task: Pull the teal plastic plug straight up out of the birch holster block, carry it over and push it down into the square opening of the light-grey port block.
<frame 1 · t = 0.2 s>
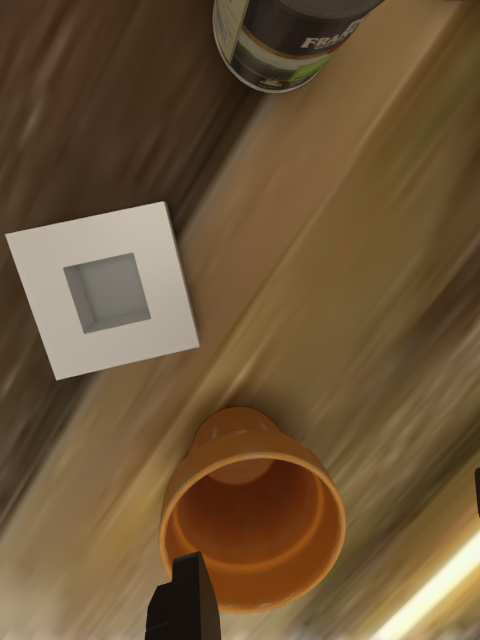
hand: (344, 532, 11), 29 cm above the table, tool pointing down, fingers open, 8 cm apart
port: (118, 283, 37), on the table
coffee can: (273, 25, 34), on the table
flower pot: (235, 443, 43), on the table
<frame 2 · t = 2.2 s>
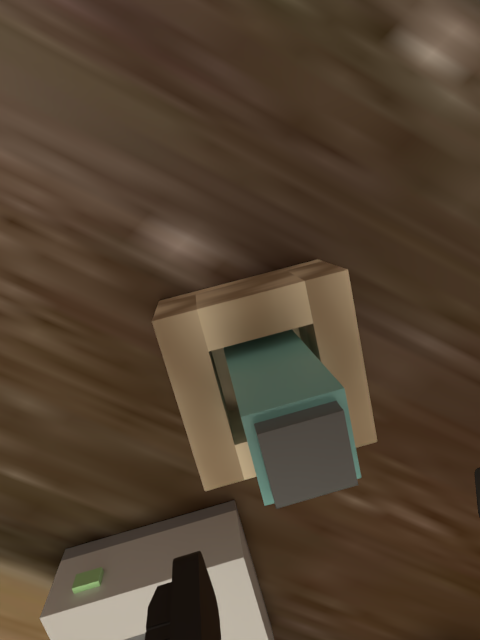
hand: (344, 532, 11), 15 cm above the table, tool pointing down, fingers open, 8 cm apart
plug: (260, 360, 25), point 1 cm above the table, touching holster
port: (174, 590, 30), on the table
holster: (257, 354, 26), on the table
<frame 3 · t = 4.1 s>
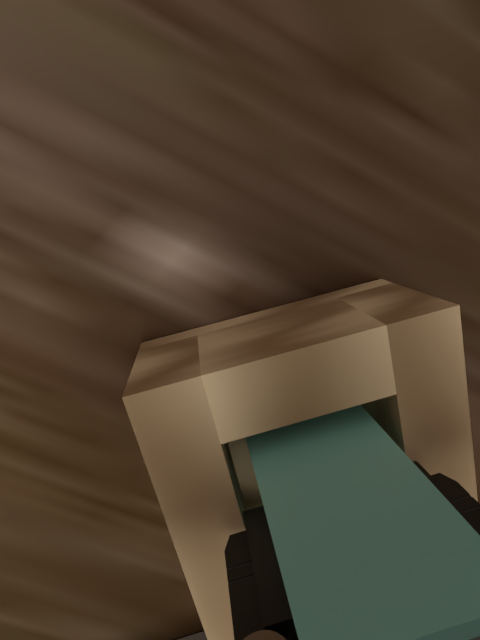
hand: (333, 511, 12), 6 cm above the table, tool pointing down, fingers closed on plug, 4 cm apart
plug: (294, 430, 17), point 1 cm above the table, touching gripper, holster
holster: (288, 418, 18), on the table
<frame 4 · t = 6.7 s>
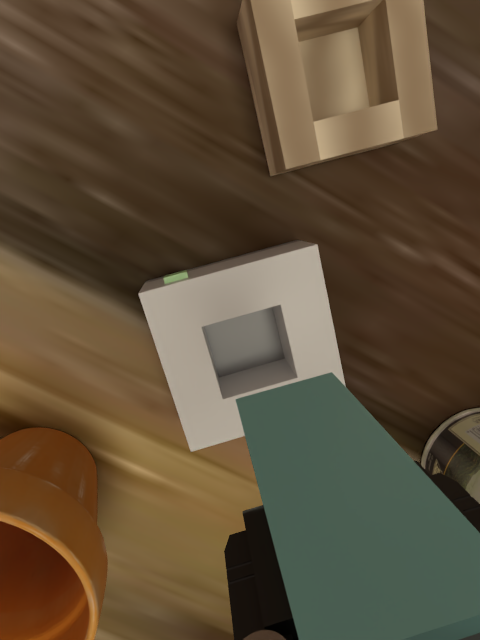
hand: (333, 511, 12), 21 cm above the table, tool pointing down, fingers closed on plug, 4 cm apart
plug: (293, 428, 17), point 17 cm above the table, touching gripper
port: (241, 332, 33), on the table
coffee can: (470, 454, 39), on the table
flower pot: (42, 471, 34), on the table
holster: (321, 86, 29), on the table
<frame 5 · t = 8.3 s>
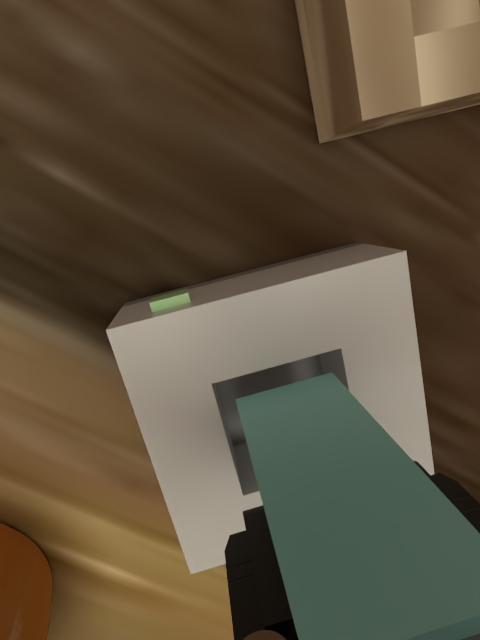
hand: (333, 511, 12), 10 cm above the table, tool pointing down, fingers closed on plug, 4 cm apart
plug: (293, 429, 17), point 6 cm above the table, touching gripper
port: (268, 378, 22), on the table
holster: (405, 0, 18), on the table
when the fingers open (7 cm above the table, at t = 9.6 s): plug drops 1 cm, resting on port.
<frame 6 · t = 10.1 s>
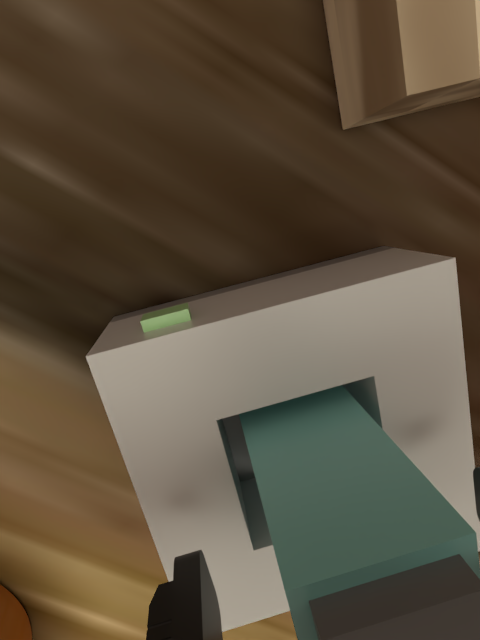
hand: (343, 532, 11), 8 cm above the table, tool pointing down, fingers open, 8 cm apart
plug: (285, 413, 18), point 1 cm above the table, touching port
port: (280, 403, 19), on the table
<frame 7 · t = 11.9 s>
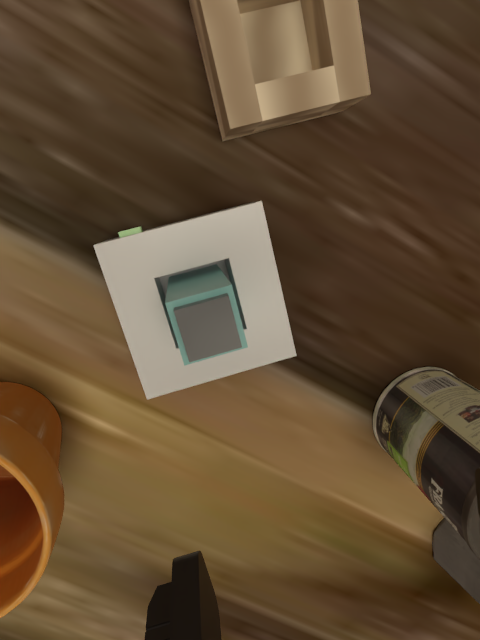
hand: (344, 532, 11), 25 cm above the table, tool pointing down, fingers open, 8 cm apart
plug: (199, 293, 34), point 1 cm above the table, touching port
coffeepot: (462, 542, 47), on the table
port: (198, 291, 35), on the table
coffee can: (419, 412, 41), on the table
flower pot: (8, 426, 36), on the table
holster: (269, 56, 31), on the table
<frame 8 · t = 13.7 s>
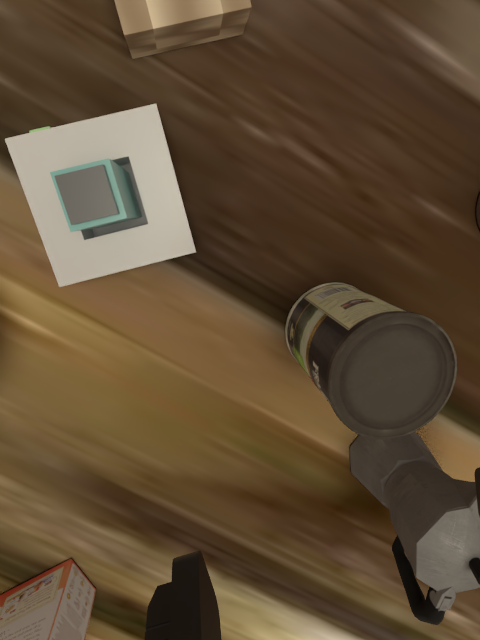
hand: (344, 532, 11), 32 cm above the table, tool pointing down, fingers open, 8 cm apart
plug: (114, 200, 38), point 1 cm above the table, touching port
coffeepot: (379, 459, 50), on the table
port: (115, 200, 39), on the table
cracker box: (34, 598, 49), on the table
coffee can: (330, 328, 45), on the table
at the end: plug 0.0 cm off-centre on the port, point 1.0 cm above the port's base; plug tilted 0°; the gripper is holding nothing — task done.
